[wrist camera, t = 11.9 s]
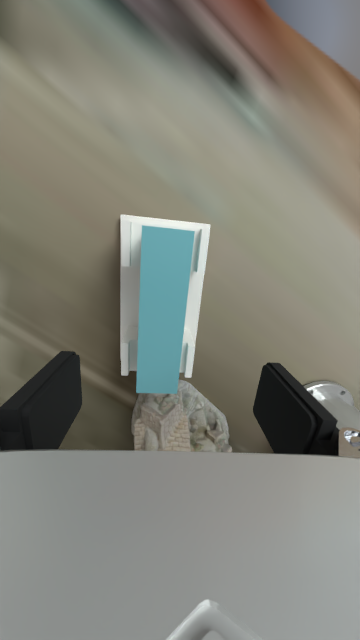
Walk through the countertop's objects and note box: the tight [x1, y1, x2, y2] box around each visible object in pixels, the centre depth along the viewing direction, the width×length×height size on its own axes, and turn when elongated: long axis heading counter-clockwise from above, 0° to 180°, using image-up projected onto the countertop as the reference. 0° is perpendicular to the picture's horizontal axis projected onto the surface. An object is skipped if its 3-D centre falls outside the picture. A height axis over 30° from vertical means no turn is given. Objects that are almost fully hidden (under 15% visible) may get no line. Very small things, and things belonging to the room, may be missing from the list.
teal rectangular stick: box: [136, 225, 195, 394], centre depth 20 cm, size 4×15×4 cm, turn 174°
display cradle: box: [120, 215, 210, 378], centre depth 24 cm, size 10×18×6 cm, turn 174°
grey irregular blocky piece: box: [131, 380, 232, 452], centre depth 28 cm, size 16×16×15 cm
